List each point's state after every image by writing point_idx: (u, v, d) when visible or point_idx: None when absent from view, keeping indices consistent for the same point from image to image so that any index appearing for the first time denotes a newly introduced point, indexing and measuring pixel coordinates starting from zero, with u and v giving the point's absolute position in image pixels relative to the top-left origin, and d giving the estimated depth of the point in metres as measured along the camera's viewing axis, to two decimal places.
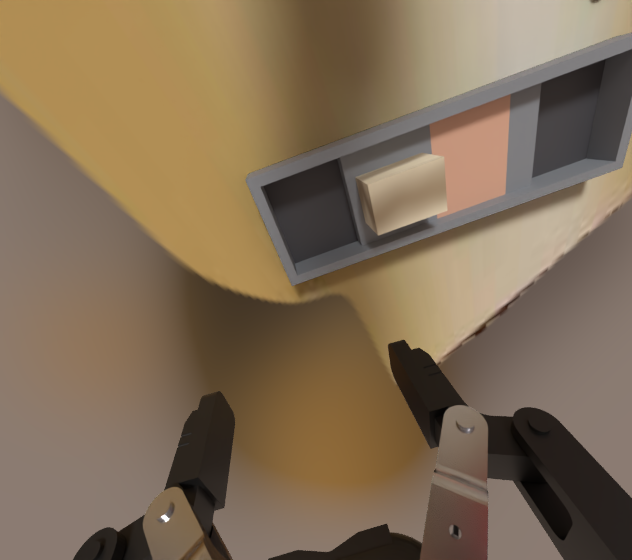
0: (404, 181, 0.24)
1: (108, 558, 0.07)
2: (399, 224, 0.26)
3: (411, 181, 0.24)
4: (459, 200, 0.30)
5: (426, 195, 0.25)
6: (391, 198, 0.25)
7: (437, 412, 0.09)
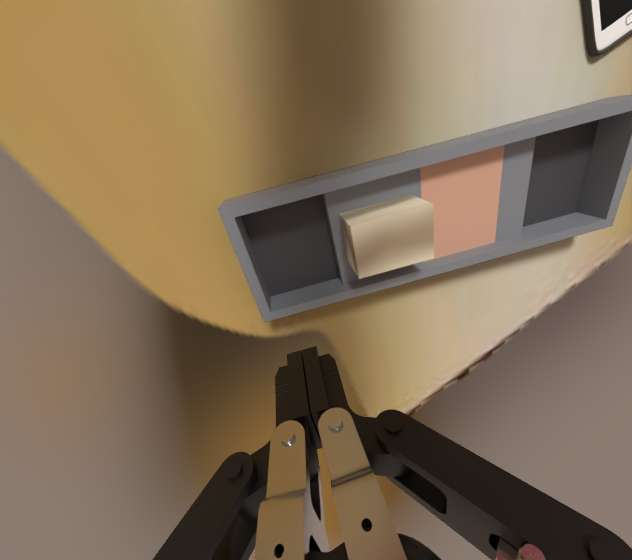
0: (390, 225, 0.22)
1: (249, 474, 0.08)
2: (382, 268, 0.24)
3: (397, 226, 0.22)
4: (447, 245, 0.29)
5: (412, 241, 0.23)
6: (375, 241, 0.23)
7: (319, 414, 0.10)
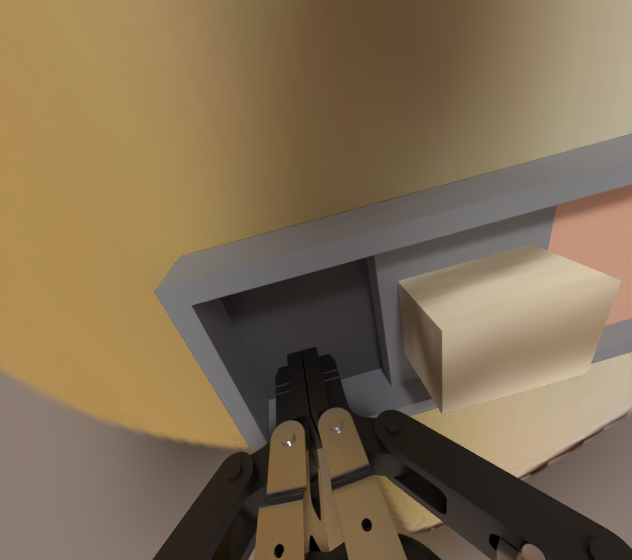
0: (523, 324, 0.10)
1: (249, 474, 0.08)
2: (489, 395, 0.12)
3: (538, 325, 0.11)
4: None
5: (558, 348, 0.11)
6: (486, 354, 0.11)
7: (319, 414, 0.10)
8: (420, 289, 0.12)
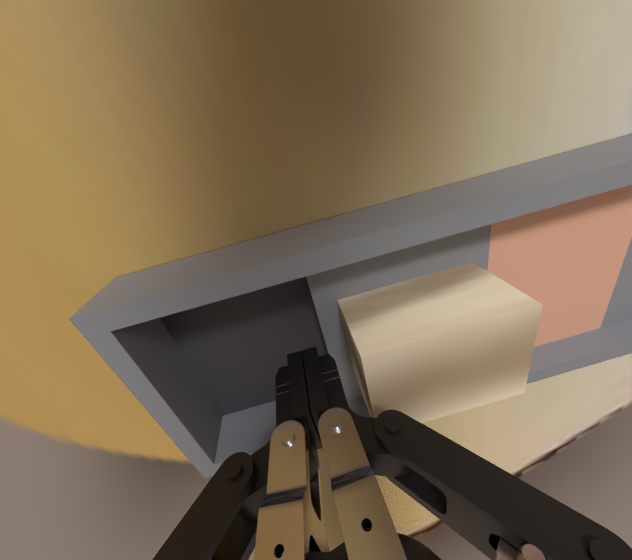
0: (447, 348, 0.10)
1: (249, 474, 0.08)
2: (424, 417, 0.12)
3: (462, 348, 0.10)
4: None
5: (489, 370, 0.11)
6: (413, 378, 0.11)
7: (319, 414, 0.10)
8: (355, 309, 0.12)
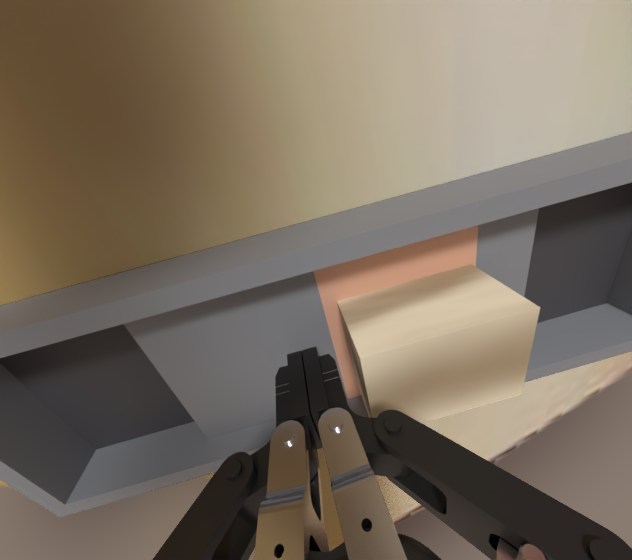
0: (445, 350, 0.10)
1: (249, 474, 0.08)
2: (422, 418, 0.12)
3: (460, 350, 0.11)
4: None
5: (486, 372, 0.11)
6: (411, 379, 0.11)
7: (319, 414, 0.10)
8: (354, 311, 0.12)
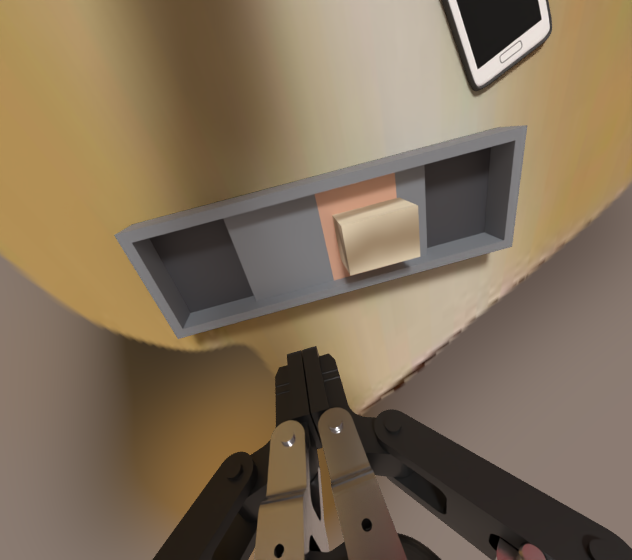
0: (378, 225, 0.24)
1: (249, 474, 0.08)
2: (372, 266, 0.26)
3: (385, 226, 0.24)
4: None
5: (400, 240, 0.25)
6: (364, 240, 0.25)
7: (319, 414, 0.10)
8: (340, 216, 0.26)
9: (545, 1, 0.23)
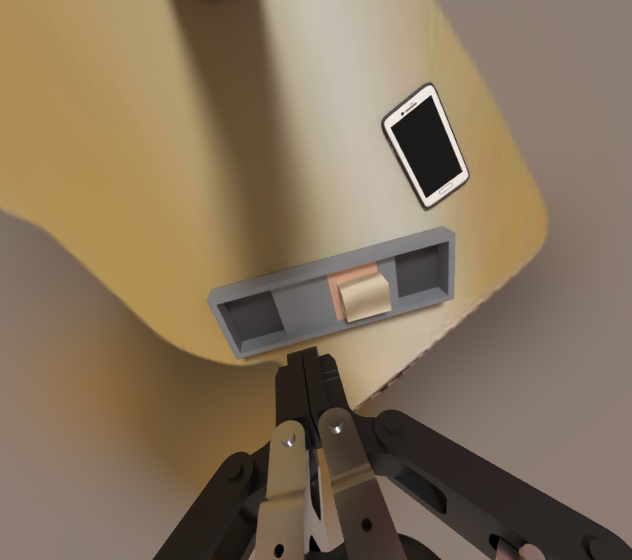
0: (364, 294, 0.40)
1: (249, 474, 0.08)
2: (361, 316, 0.42)
3: (369, 294, 0.40)
4: None
5: (378, 301, 0.41)
6: (356, 302, 0.41)
7: (319, 414, 0.10)
8: (341, 285, 0.42)
9: (464, 162, 0.39)
